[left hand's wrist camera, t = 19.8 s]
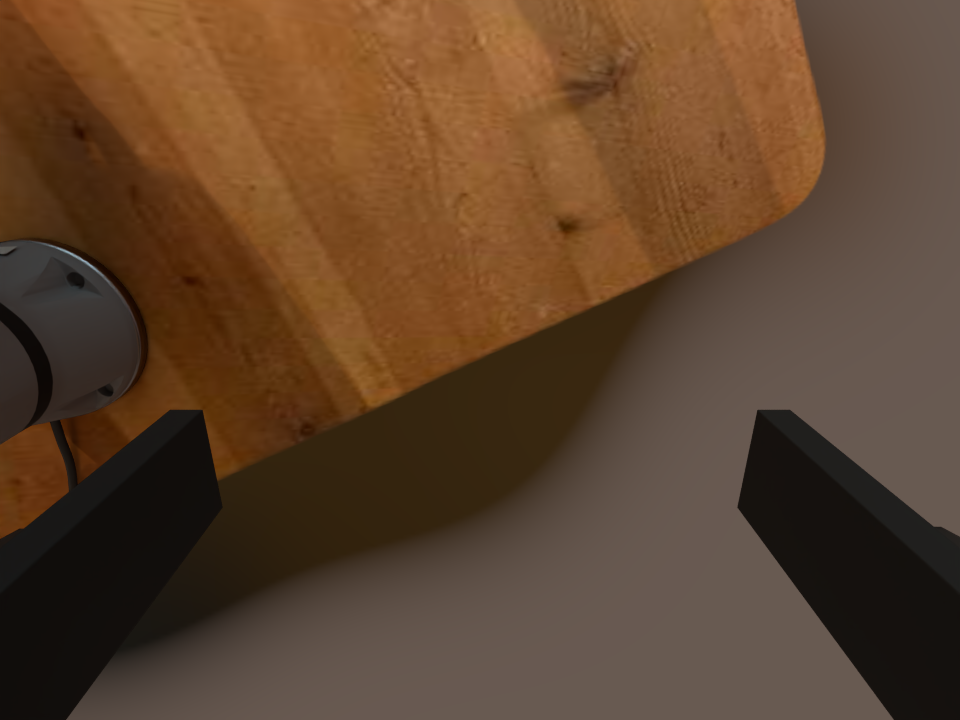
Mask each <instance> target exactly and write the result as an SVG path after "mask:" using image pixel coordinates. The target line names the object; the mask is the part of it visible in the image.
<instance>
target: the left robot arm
mask: <svg viewBox="0 0 960 720" xmlns="http://www.w3.org/2000/svg"><path fill="white" fill-rule="evenodd" d="M146 356H147V336H146V330H145V326H144V323H143V319H142V317H141V314H140V311H139V309H138V307H137V305H136V303H135V302H134V300H133V298H132V297H131V295H130V294H129V292H128V291H127V290H126V288H125V287H124V286H123V284H122V283H121V282H120V281H119V280H118V279H117V278H116V277H115V276H114V275H113V274H112V273H111V272H110V271H109V270H108V269H107V268H106V267H104V266H103V265H102V264H100V263H99V262H98V261H96V260H95V259H93V258H92V257H90V256H89V255H87V254H85V253H83V252H81V251H79V250H77V249H75V248H73V247H70V246H68V245H65V244H62V243H59V242H55V241H51V240H45V239H35V238H26V239H16V240H10V241H4V242H0V444H2V443H3V442H5V441H7V440H8V439H10V438H11V437H13V436H15V435H16V434H18V433H19V432H21V431H23V430H24V429H26V428H28V427H30V426H32V425H36V424H41V423H46V422H50V423H51V426H52V430H53V433H54V436H55V438H56V441H57V444H58V447H59V449H60V451H61V454H62V456H63V459H64V462H65V465H66V470H67V475H68V484H69V492H68V493H67V494H66V495H65V496H63V497H62V498H61V499H60V500H59V501H57V502H56V503H55V504H54V505H52V506H51V507H50V508H49V509H47V510H46V511H45V512H44V513H43V514H41V515H40V516H39V517H38V518H36V519H35V520H34V521H33V522H31V523H30V524H29V525H28V526H27V527H25V528H24V529H18V530H16V531H14V532H13V533H11V534H9V535H7V536H5V537H3V538H1V539H0V720H66V719H67V718H68V716H69V715H70V714H71V712H72V711H73V710H74V708H75V707H76V705H77V704H78V703H79V701H80V700H81V699H82V697H83V696H84V695H85V693H86V692H87V691H88V689H89V688H90V686H91V685H92V684H93V682H94V681H95V680H96V678H97V677H98V676H99V674H100V673H101V672H102V670H103V669H104V668H105V666H106V665H107V663H108V662H109V661H110V659H111V658H112V657H113V655H114V654H115V653H116V651H117V650H118V649H119V647H120V646H121V644H122V643H123V642H124V640H125V639H126V638H127V636H128V635H129V634H130V632H131V631H132V630H133V628H134V627H135V625H136V624H137V623H138V621H139V620H140V619H141V617H142V616H143V615H144V613H145V612H146V610H147V609H148V608H149V606H150V605H151V604H152V602H153V601H154V600H155V598H156V597H157V596H158V594H159V593H160V591H161V590H162V589H163V587H164V586H165V585H166V583H167V582H168V581H169V579H170V578H171V577H172V575H173V574H174V572H175V571H176V570H177V569H178V567H179V566H180V564H181V563H182V562H183V560H184V559H185V558H186V556H187V555H188V553H189V552H190V551H191V549H192V548H193V547H194V545H195V544H196V543H197V541H198V540H199V539H200V537H201V536H202V535H203V533H204V532H205V530H206V529H207V528H208V526H209V525H210V524H211V522H212V521H213V520H214V518H215V517H216V516H217V514H218V513H219V512H220V510H221V509H222V502H221V497H220V493H219V488H218V483H217V478H216V473H215V468H214V463H213V459H212V454H211V449H210V444H209V439H208V434H207V429H206V425H205V420H204V415H203V410H169V411H168V412H167V413H166V414H164V415H163V416H162V417H161V418H159V419H158V420H157V421H156V422H155V423H153V424H152V425H151V426H150V427H148V428H147V429H146V430H145V431H143V432H142V433H141V434H140V435H139V436H137V437H136V438H135V439H134V440H132V441H131V442H130V443H129V444H127V445H126V446H125V447H124V448H123V449H121V450H120V451H119V452H118V453H116V454H115V455H114V456H113V457H111V458H110V459H109V460H108V461H107V462H105V463H104V464H103V465H102V466H100V467H99V468H98V469H97V470H95V471H94V472H93V473H92V474H91V475H89V476H88V477H87V478H86V479H84V480H83V481H82V482H81V483H79V484H77V474H76V468H75V463H74V459H73V456H72V453H71V450H70V448H69V446H68V443H67V440H66V438H65V435H64V431H63V428H62V425H61V422H60V420H61V419H66V418H70V417H75V416H80V415H84V414H88V413H91V412H93V411H96V410H98V409H100V408H103V407H105V406H107V405H109V404H110V403H112V402H114V401H115V400H117V399H118V398H120V397H121V396H123V395H124V394H125V393H126V392H128V391H129V390H130V389H131V388H132V387H133V386H134V384H135V383H136V382H137V380H138V379H139V377H140V375H141V373H142V371H143V368H144V365H145V361H146ZM738 509H739V510H740V511H741V513H742V514H743V516H744V517H745V518H746V520H747V521H748V522H749V524H750V525H751V526H752V528H753V529H754V531H755V532H756V533H757V535H758V536H759V537H760V539H761V540H762V541H763V543H764V544H765V545H766V547H767V548H768V550H769V551H770V552H771V554H772V555H773V556H774V558H775V559H776V560H777V562H778V563H779V564H780V566H781V567H782V568H783V570H784V571H785V572H786V574H787V575H788V577H789V578H790V579H791V581H792V582H793V583H794V585H795V586H796V587H797V589H798V590H799V592H800V593H801V594H802V596H803V597H804V598H805V600H806V601H807V602H808V604H809V605H810V606H811V608H812V609H813V611H814V612H815V613H816V615H817V616H818V617H819V619H820V620H821V621H822V623H823V624H824V625H825V627H826V628H827V630H828V631H829V632H830V634H831V635H832V636H833V638H834V639H835V640H836V642H837V643H838V644H839V646H840V647H841V649H842V650H843V651H844V653H845V654H846V655H847V657H848V658H849V659H850V661H851V662H852V663H853V665H854V666H855V668H856V669H857V670H858V672H859V673H860V674H861V676H862V677H863V678H864V680H865V681H866V682H867V684H868V685H869V687H870V688H871V689H872V691H873V692H874V693H875V695H876V696H877V697H878V699H879V700H880V701H881V703H882V704H883V706H884V707H885V708H886V710H887V711H888V712H889V714H890V715H891V716H892V718H893V719H894V720H960V537H959V536H957V535H955V534H953V533H952V532H950V531H948V530H946V529H944V528H942V527H933V526H932V525H931V524H930V523H929V522H927V521H926V520H925V519H924V518H922V517H921V516H920V515H919V514H917V513H916V512H915V511H914V510H912V509H911V508H910V507H909V506H908V505H906V504H905V503H904V502H903V501H901V500H900V499H899V498H898V497H897V496H895V495H894V494H893V493H892V492H890V491H889V490H888V489H887V488H885V487H884V486H883V485H882V484H881V483H879V482H878V481H877V480H876V479H874V478H873V477H872V476H871V475H869V474H868V473H867V472H866V471H865V470H863V469H862V468H861V467H860V466H858V465H857V464H856V463H855V462H853V461H852V460H851V459H850V458H849V457H847V456H846V455H845V454H844V453H842V452H841V451H840V450H839V449H837V448H836V447H835V446H834V445H832V444H831V443H830V442H829V441H828V440H826V439H825V438H824V437H823V436H821V435H820V434H819V433H818V432H817V431H815V430H814V429H813V428H812V427H810V426H809V425H808V424H807V423H805V422H804V421H803V420H802V419H801V418H799V417H798V416H797V415H796V414H794V413H793V412H792V411H791V410H757V415H756V420H755V425H754V429H753V434H752V439H751V444H750V449H749V454H748V459H747V463H746V468H745V473H744V478H743V483H742V488H741V493H740V497H739V502H738Z"/></svg>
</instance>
